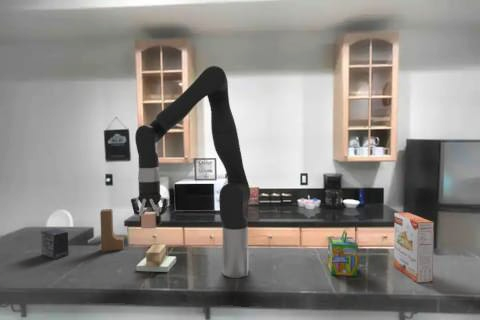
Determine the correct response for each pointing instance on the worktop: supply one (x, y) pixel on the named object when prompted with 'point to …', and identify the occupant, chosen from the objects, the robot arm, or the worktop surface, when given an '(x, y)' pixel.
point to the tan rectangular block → (156, 255)
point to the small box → (54, 243)
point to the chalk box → (342, 255)
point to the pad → (164, 266)
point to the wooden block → (109, 232)
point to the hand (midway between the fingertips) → (150, 225)
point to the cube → (148, 220)
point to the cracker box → (414, 246)
